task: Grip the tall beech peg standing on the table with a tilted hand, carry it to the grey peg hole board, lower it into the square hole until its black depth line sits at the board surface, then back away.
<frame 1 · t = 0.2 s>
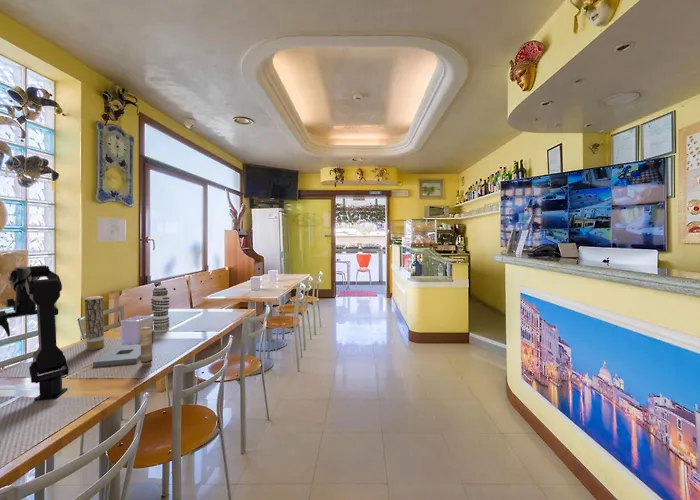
hand: (25, 333, 129), 15 cm above the table, tool pointing down, fingers open, 9 cm apart
beech peg: (146, 365, 136), on the table
decorative candle: (161, 330, 186), on the table
grey patterned cylinder: (95, 348, 156), on the table
grey peg hole board: (124, 356, 146), on the table
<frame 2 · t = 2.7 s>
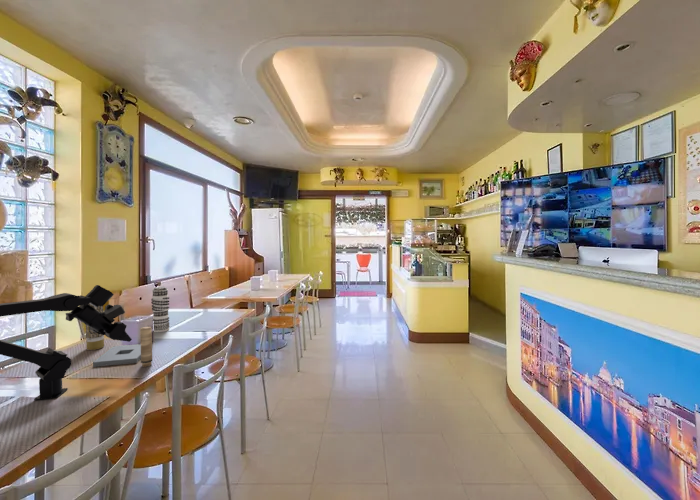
hand: (125, 338, 129), 14 cm above the table, tool tilted 45°, fingers open, 9 cm apart
nothing on the table moved.
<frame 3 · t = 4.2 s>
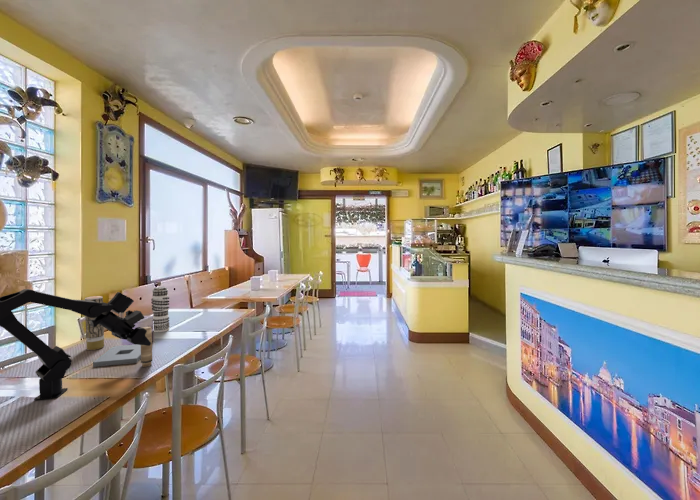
hand: (145, 342, 135), 10 cm above the table, tool tilted 45°, fingers open, 9 cm apart
nothing on the table moved.
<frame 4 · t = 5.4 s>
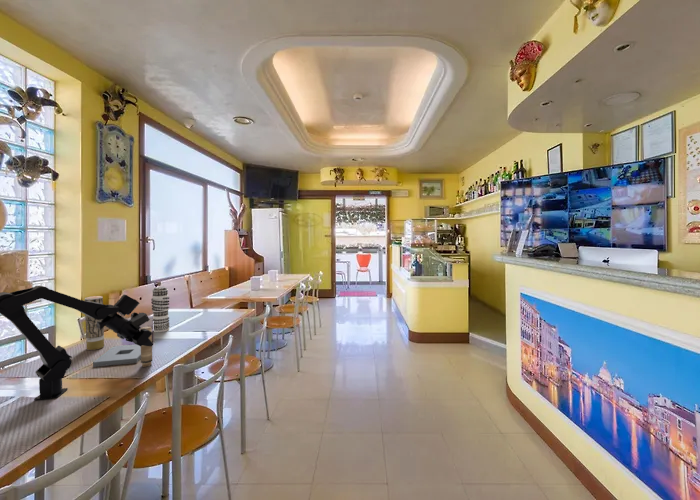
hand: (149, 344, 136), 9 cm above the table, tool tilted 45°, fingers closed on beech peg, 4 cm apart
beech peg: (146, 365, 136), on the table, touching gripper
everything else where it was.
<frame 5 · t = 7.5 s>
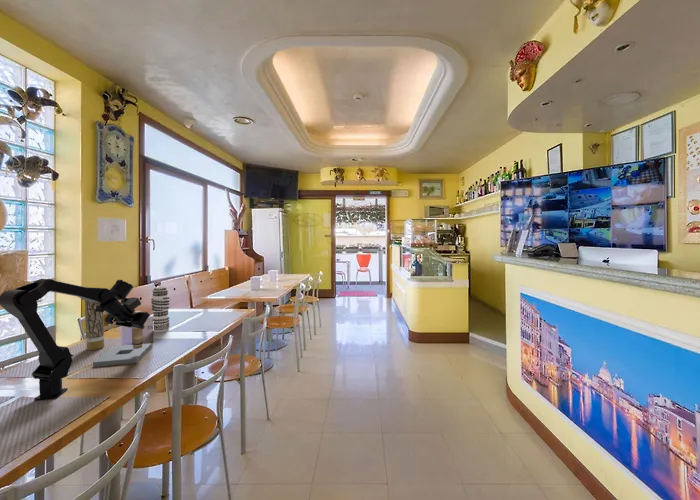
hand: (139, 327, 143), 14 cm above the table, tool tilted 45°, fingers closed on beech peg, 4 cm apart
beech peg: (137, 347, 142), point 5 cm above the table, touching gripper
everything else where it was.
when the fingers open (9 cm above the table, at t = 9.7 s): beech peg stays where it is, resting in grey peg hole board.
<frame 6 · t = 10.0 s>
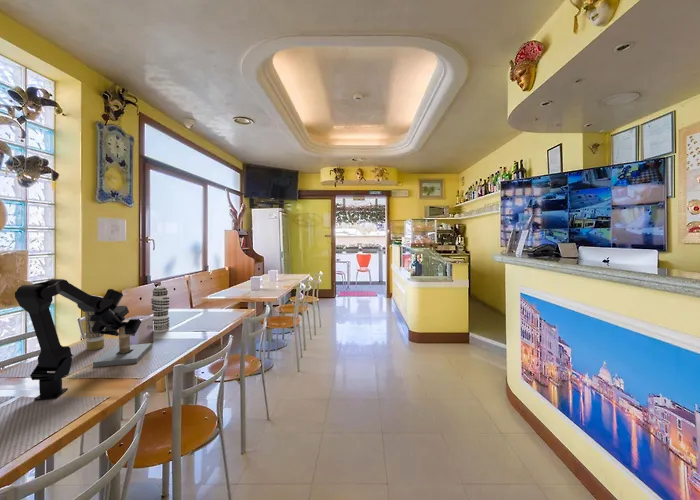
hand: (126, 335, 147), 9 cm above the table, tool tilted 45°, fingers open, 7 cm apart
beech peg: (124, 356, 146), resting in grey peg hole board
everything else where it was.
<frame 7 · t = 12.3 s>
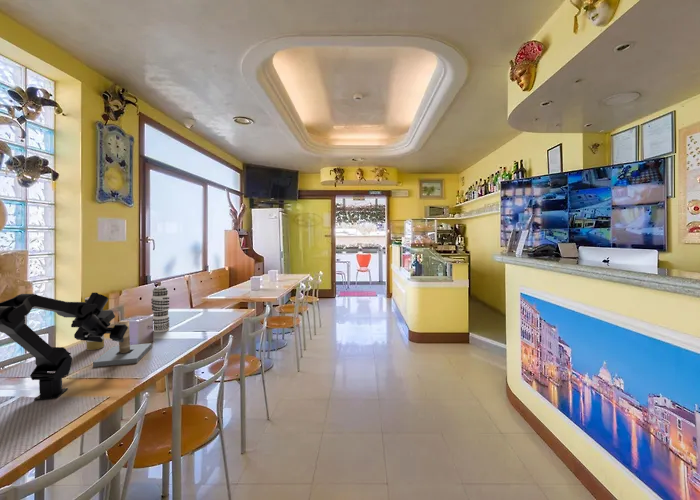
hand: (112, 341, 138), 9 cm above the table, tool tilted 45°, fingers open, 9 cm apart
nothing on the table moved.
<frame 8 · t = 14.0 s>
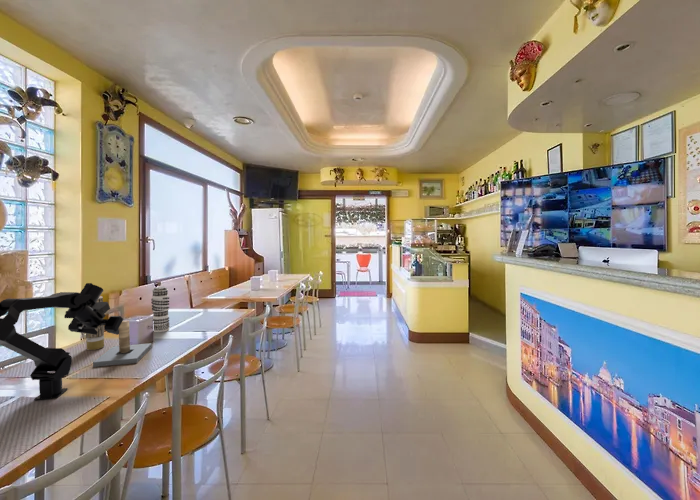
hand: (107, 333, 135), 14 cm above the table, tool tilted 45°, fingers open, 9 cm apart
nothing on the table moved.
at the end: beech peg 0.0 cm from the grey peg hole board (horizontally); beech peg resting in grey peg hole board; beech peg tilted 0° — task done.
